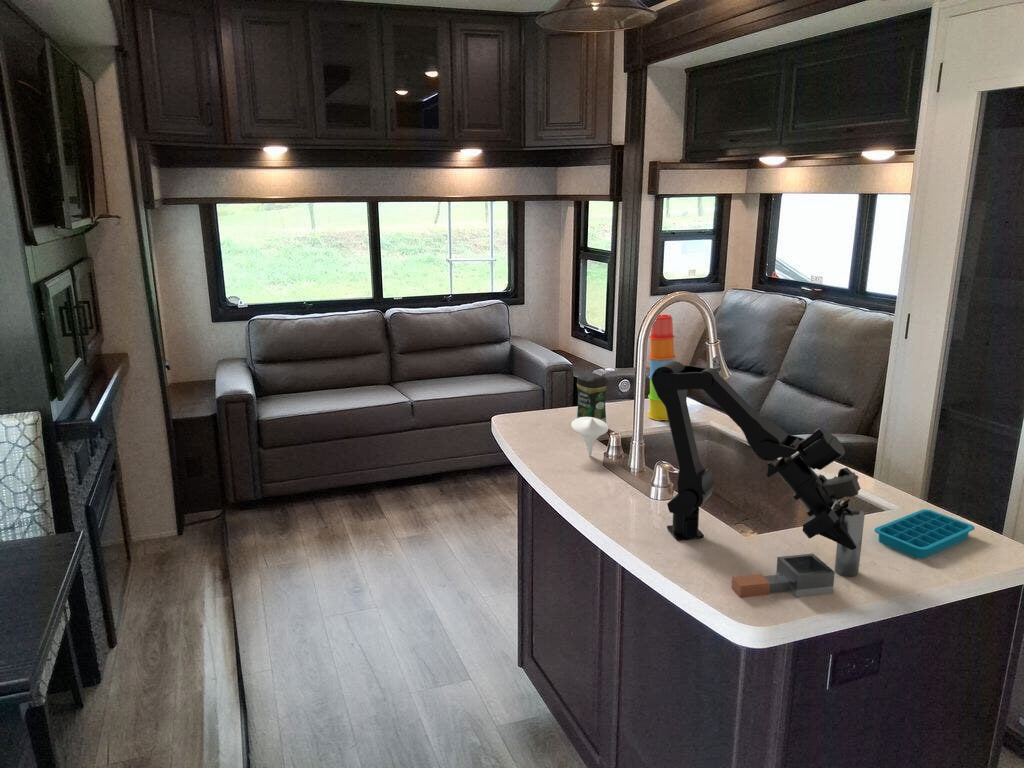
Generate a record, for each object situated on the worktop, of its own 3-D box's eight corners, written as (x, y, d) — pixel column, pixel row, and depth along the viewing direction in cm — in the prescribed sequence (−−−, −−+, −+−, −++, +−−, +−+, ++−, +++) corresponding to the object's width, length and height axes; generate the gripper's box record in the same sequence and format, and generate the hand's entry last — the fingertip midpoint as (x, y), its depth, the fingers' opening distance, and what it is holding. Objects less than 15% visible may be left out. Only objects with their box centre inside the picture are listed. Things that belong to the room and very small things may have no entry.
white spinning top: (614, 458, 216) (615, 419, 213) (581, 464, 212) (581, 424, 209) (597, 447, 225) (597, 409, 222) (565, 452, 221) (565, 414, 218)
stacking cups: (657, 422, 247) (660, 319, 238) (642, 414, 256) (644, 314, 247) (684, 419, 250) (688, 317, 241) (668, 410, 259) (671, 312, 250)
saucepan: (727, 582, 148) (728, 562, 147) (811, 573, 150) (812, 553, 149) (744, 603, 140) (746, 581, 139) (832, 593, 143) (834, 571, 142)
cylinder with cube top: (830, 567, 153) (836, 505, 149) (849, 565, 153) (856, 503, 150) (842, 578, 148) (849, 514, 145) (862, 576, 149) (870, 512, 145)
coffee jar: (572, 427, 244) (572, 372, 239) (591, 422, 248) (591, 368, 244) (591, 435, 236) (591, 378, 232) (610, 430, 240) (611, 374, 236)
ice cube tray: (975, 539, 164) (977, 526, 163) (921, 563, 154) (923, 550, 153) (924, 520, 174) (925, 508, 173) (870, 541, 164) (871, 529, 163)
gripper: (825, 475, 139) (884, 543, 136) (845, 446, 154) (898, 506, 151) (779, 505, 146) (834, 571, 143) (802, 474, 161) (852, 533, 158)
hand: (856, 543), depth 148 cm, fingers closed on cylinder with cube top, 4 cm apart
